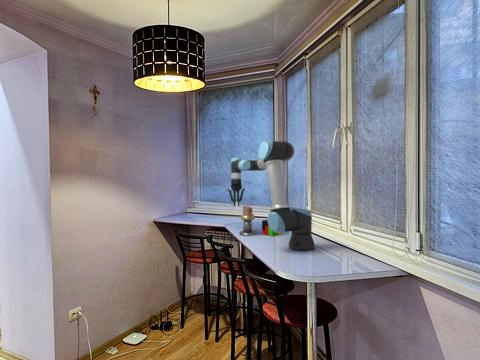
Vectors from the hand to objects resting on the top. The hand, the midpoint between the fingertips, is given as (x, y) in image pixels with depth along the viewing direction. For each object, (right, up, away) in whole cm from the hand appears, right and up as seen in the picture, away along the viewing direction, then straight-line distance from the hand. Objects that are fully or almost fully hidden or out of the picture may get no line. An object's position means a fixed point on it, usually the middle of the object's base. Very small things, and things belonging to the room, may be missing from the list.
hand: (236, 210), depth 230 cm
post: (+8, -17, -5) cm, 19 cm away
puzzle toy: (+26, -17, -6) cm, 31 cm away
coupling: (+8, -5, -5) cm, 11 cm away
